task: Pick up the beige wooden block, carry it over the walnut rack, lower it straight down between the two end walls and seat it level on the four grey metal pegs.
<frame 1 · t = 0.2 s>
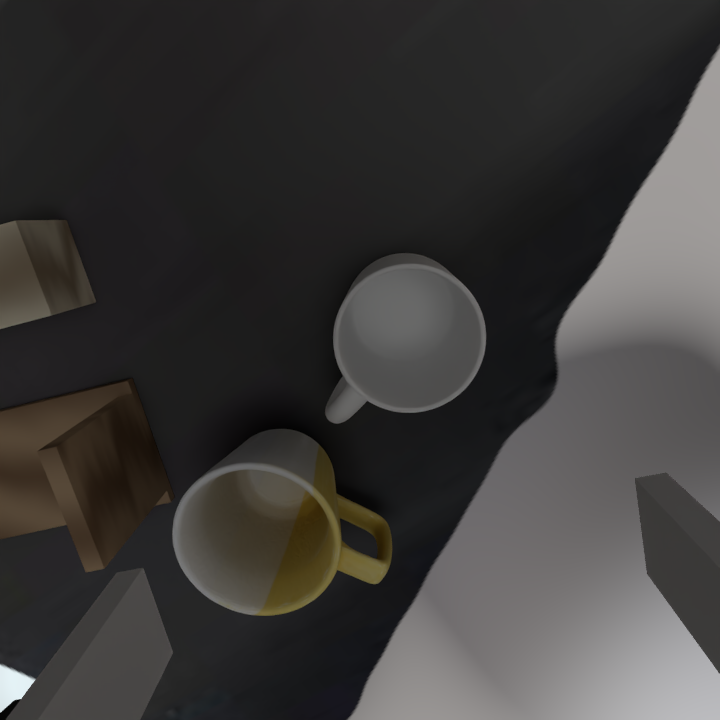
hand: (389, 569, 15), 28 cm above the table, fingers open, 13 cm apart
mug 2: (304, 480, 45), on the table
mug: (386, 329, 42), on the table
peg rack: (38, 465, 46), on the table
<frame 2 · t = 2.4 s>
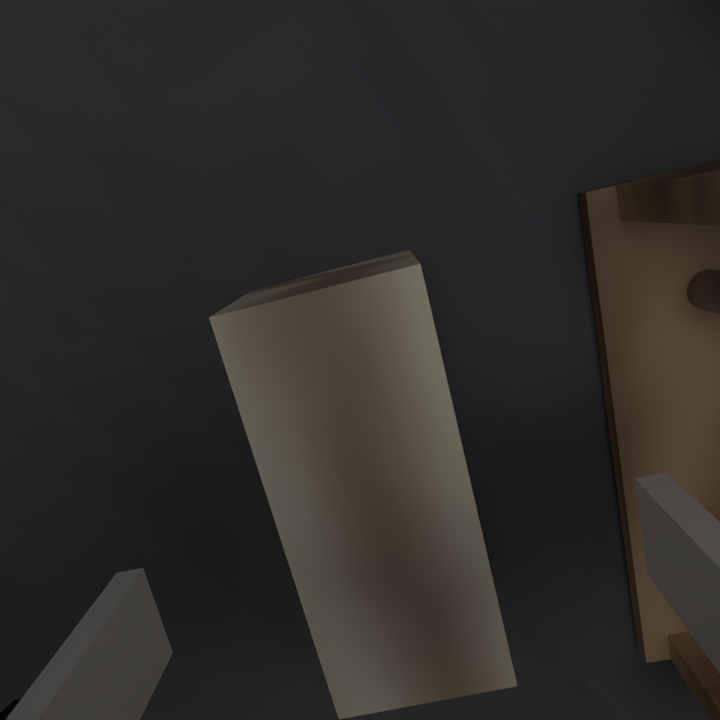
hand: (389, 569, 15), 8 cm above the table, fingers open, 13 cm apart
beige wooden block: (375, 440, 23), on the table
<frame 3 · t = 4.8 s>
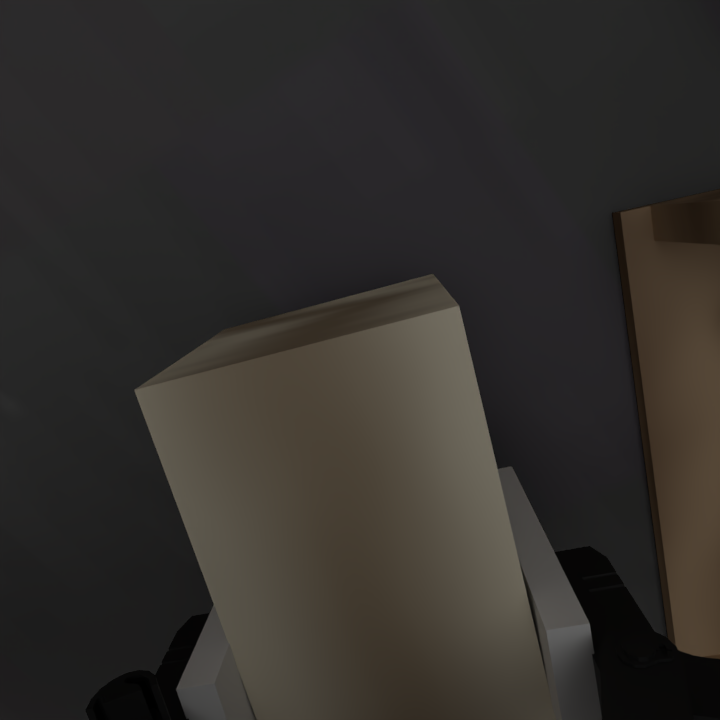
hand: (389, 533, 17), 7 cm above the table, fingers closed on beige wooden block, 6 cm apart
beige wooden block: (390, 525, 18), point 6 cm above the table, touching gripper
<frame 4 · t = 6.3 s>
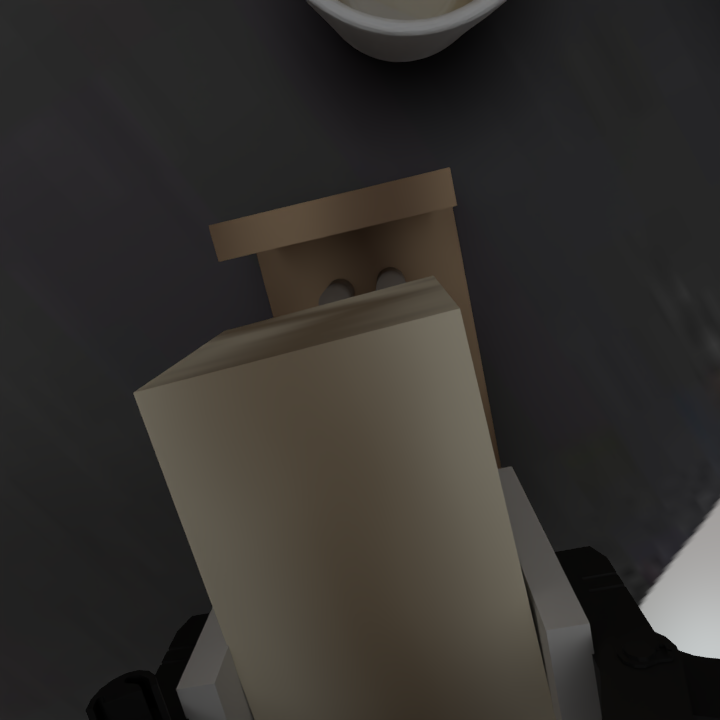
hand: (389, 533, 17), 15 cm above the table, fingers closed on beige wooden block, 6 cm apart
beige wooden block: (390, 527, 18), point 15 cm above the table, touching gripper
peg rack: (388, 384, 32), on the table
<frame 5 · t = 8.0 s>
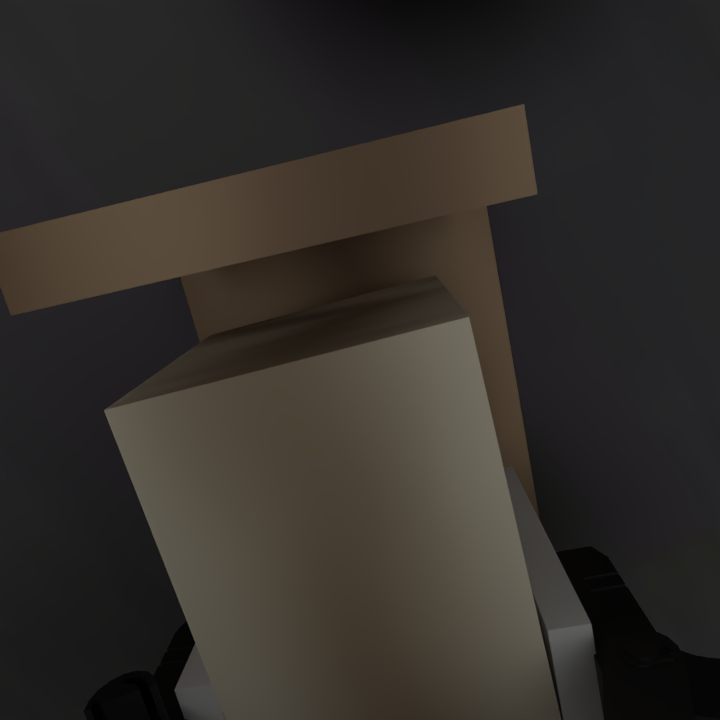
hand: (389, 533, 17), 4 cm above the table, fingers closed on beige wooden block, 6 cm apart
beige wooden block: (389, 542, 17), point 5 cm above the table, touching gripper, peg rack
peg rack: (384, 466, 21), on the table
when the fingers open (4 cm above the table, at t = 8.3 s): beige wooden block stays where it is, resting on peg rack.
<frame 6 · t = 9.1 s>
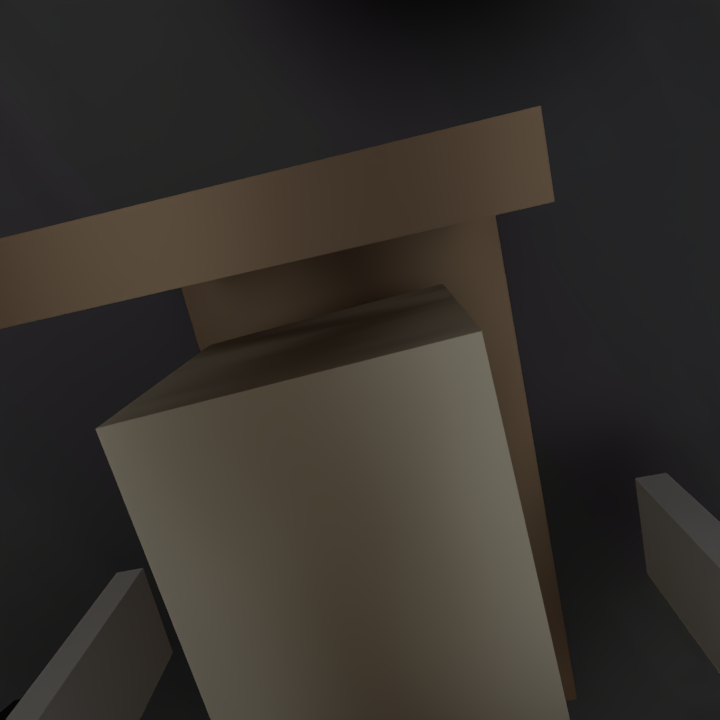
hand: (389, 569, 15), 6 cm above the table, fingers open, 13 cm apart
beige wooden block: (394, 559, 16), point 5 cm above the table, touching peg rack
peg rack: (389, 477, 21), on the table
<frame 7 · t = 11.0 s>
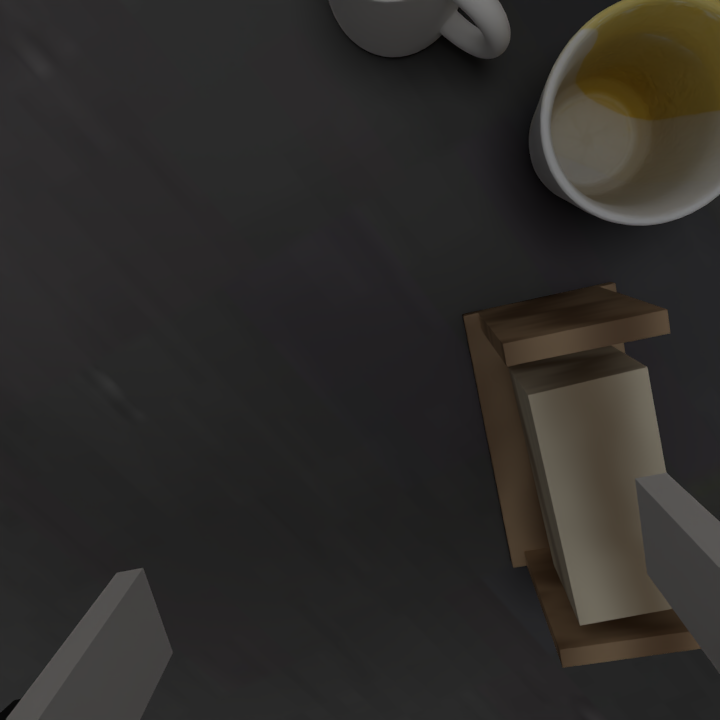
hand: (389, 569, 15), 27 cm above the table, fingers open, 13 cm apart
mug 2: (603, 118, 37), on the table
beige wooden block: (579, 459, 37), point 5 cm above the table, touching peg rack
mug: (418, 10, 36), on the table
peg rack: (558, 430, 42), on the table
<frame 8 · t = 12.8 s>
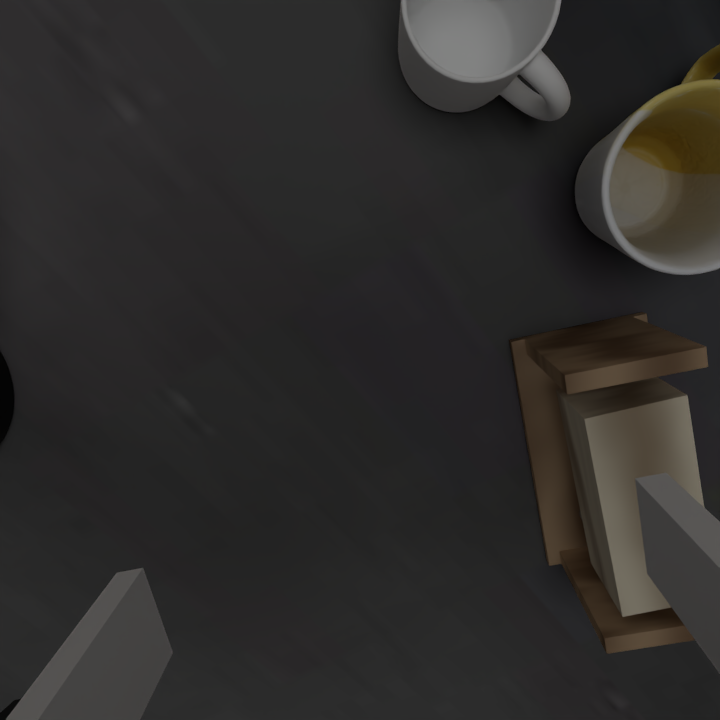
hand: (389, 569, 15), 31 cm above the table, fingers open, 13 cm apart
mug 2: (638, 168, 42), on the table
beige wooden block: (616, 470, 42), point 5 cm above the table, touching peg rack
mug: (477, 70, 40), on the table
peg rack: (591, 443, 46), on the table
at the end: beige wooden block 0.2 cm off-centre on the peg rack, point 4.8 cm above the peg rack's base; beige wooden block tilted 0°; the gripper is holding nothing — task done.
